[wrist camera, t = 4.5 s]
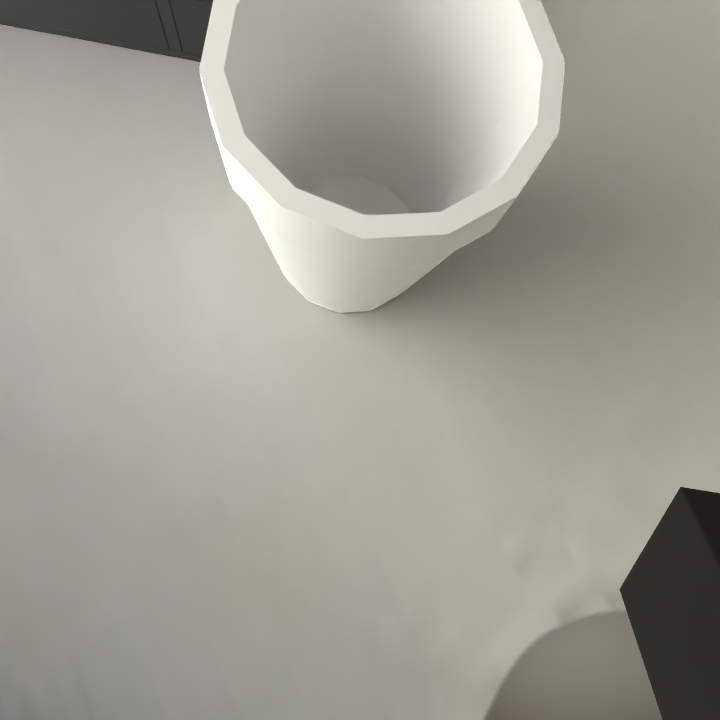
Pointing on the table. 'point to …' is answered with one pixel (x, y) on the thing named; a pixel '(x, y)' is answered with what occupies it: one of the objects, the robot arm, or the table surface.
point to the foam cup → (378, 129)
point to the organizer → (119, 22)
